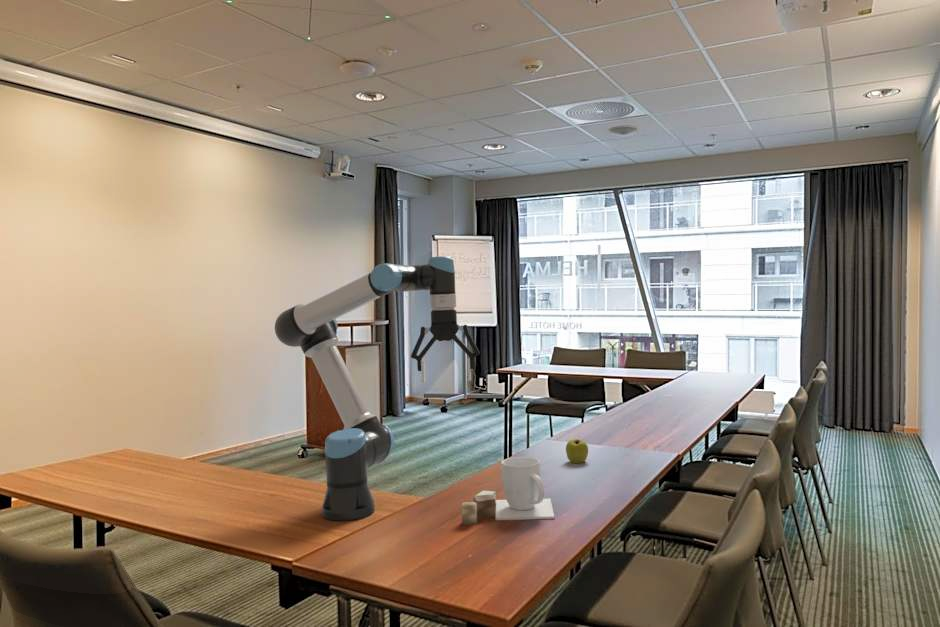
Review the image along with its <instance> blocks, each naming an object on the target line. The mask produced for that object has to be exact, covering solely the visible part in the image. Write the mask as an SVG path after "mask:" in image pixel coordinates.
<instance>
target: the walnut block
mask: <svg viewBox="0 0 940 627" xmlns="http://www.w3.org/2000/svg"><path fill="white" fill-rule="evenodd" d="M473 502H475V503H476V506H477V520H481V519H492V518H496V505H495V499H494V498H493V496H492V495H491V494H489V495H479V496H476V495H474V496H473Z"/></svg>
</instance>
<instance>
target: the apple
mask: <svg viewBox="0 0 940 627" xmlns="http://www.w3.org/2000/svg"><path fill="white" fill-rule="evenodd" d="M565 454H566V457H567V459H568V460H569V462H570V463H573V464H577V463H578V464H581V463H584V462H585V461H586V460H587V458H588V455H589V446H588V444H587V443H586V442H585V441H584V440H583V439H580V436H578V438H574V439H570V440H569V441H568V442H567V443H566V446H565Z"/></svg>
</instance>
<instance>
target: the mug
mask: <svg viewBox="0 0 940 627" xmlns="http://www.w3.org/2000/svg"><path fill="white" fill-rule="evenodd" d="M541 476H542V475H541V463H540V460H539V459H537V458H534V457H528V456H517V457H516V456H515V457H509V458H505V459H503V460H501V480H502V482H501V483H502V488H503V489H502V490H503V493H504V496H505V500H507V502H508V504H509V505H510V507H511V508H512V509H515V510H529V509H532V508H533V507H534V506H535V504H539V503H541V502H542V501H543V499H545V488H544V487H545V486H544V483H543V481H542V478H541Z"/></svg>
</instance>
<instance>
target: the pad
mask: <svg viewBox="0 0 940 627" xmlns="http://www.w3.org/2000/svg"><path fill="white" fill-rule="evenodd" d="M552 504H553V503H552V500H551V498H549V497H548V498H544V499H543V501H542V502H541V503H539V504H535V506H534V507H533V508H532V509H529V510H515V509H512V508H511V507H510V505H509V504H508V502H507V500H506V499H496V505H495V512H496V517H495V521H513V520H515V521H518V520H519V521H520V520H522V521H523V520H551V519H553V520H554V519H555V513H554V510H553V505H552Z"/></svg>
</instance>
